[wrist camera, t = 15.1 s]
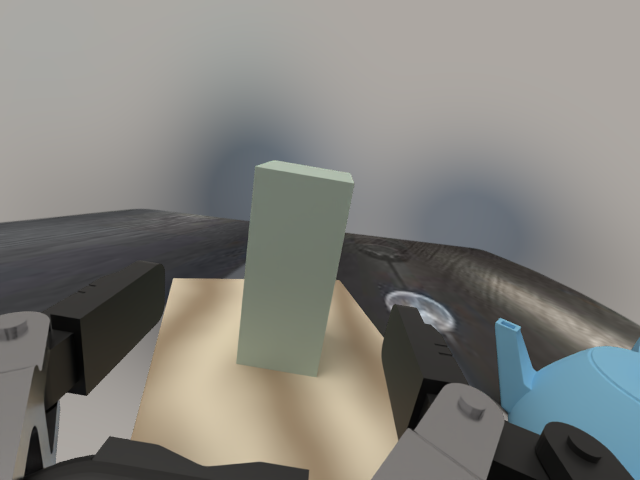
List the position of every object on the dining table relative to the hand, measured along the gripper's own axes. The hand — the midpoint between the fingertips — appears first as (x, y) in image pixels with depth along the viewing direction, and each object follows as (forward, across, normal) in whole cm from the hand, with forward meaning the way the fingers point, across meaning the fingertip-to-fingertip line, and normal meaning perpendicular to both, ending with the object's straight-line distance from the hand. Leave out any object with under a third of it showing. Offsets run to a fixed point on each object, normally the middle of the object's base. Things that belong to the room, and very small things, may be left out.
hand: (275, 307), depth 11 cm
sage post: (+9, 0, +8) cm, 12 cm away
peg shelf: (+9, 0, +14) cm, 17 cm away
